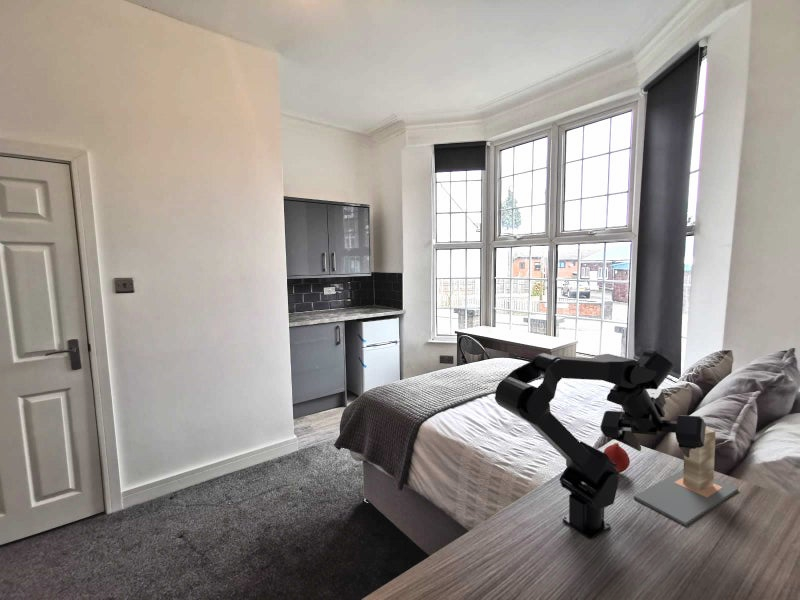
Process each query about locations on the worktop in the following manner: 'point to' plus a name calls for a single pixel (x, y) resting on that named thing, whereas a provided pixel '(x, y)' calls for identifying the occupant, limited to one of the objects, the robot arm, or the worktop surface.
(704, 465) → the cream block
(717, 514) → the worktop surface
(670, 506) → the mat
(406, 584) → the worktop surface
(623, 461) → the onion
